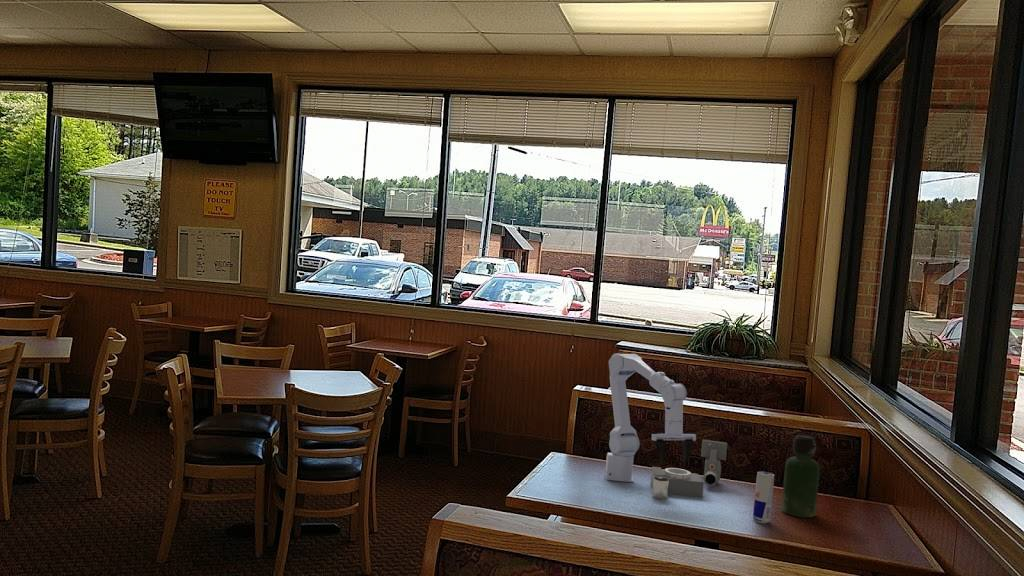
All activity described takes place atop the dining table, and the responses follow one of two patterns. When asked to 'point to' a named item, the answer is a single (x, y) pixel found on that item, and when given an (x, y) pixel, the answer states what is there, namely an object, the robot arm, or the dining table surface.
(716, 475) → the camera
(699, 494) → the mount block
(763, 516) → the beverage can
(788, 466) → the green bottle
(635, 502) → the dining table surface
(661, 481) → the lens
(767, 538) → the dining table surface
